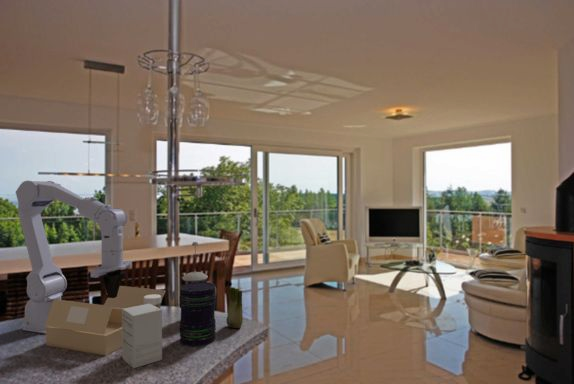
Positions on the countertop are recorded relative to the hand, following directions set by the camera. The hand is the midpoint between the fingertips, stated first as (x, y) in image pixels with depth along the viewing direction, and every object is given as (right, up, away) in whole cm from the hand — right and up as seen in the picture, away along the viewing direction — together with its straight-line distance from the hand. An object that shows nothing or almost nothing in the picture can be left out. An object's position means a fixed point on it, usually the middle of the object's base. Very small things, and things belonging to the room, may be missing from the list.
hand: (112, 297), depth 119 cm
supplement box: (+15, -11, -18) cm, 26 cm away
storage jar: (+26, -11, -5) cm, 28 cm away
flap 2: (+3, -2, +9) cm, 10 cm away
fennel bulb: (+35, -11, +6) cm, 37 cm away
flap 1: (-4, -2, -11) cm, 12 cm away
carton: (-1, -10, -3) cm, 11 cm away
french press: (+22, -11, +12) cm, 27 cm away
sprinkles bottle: (+15, -11, -9) cm, 21 cm away
